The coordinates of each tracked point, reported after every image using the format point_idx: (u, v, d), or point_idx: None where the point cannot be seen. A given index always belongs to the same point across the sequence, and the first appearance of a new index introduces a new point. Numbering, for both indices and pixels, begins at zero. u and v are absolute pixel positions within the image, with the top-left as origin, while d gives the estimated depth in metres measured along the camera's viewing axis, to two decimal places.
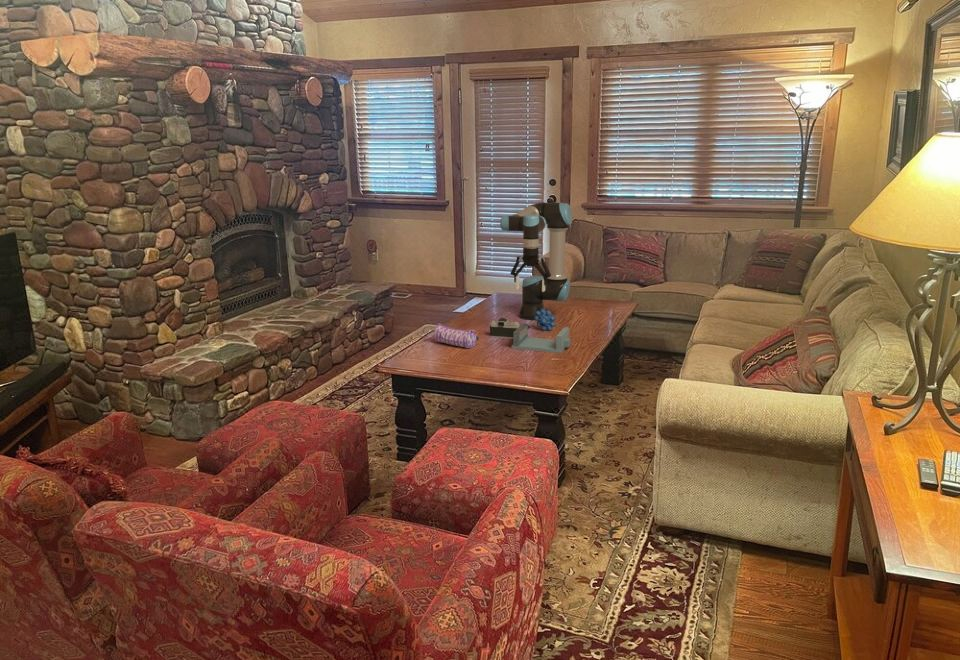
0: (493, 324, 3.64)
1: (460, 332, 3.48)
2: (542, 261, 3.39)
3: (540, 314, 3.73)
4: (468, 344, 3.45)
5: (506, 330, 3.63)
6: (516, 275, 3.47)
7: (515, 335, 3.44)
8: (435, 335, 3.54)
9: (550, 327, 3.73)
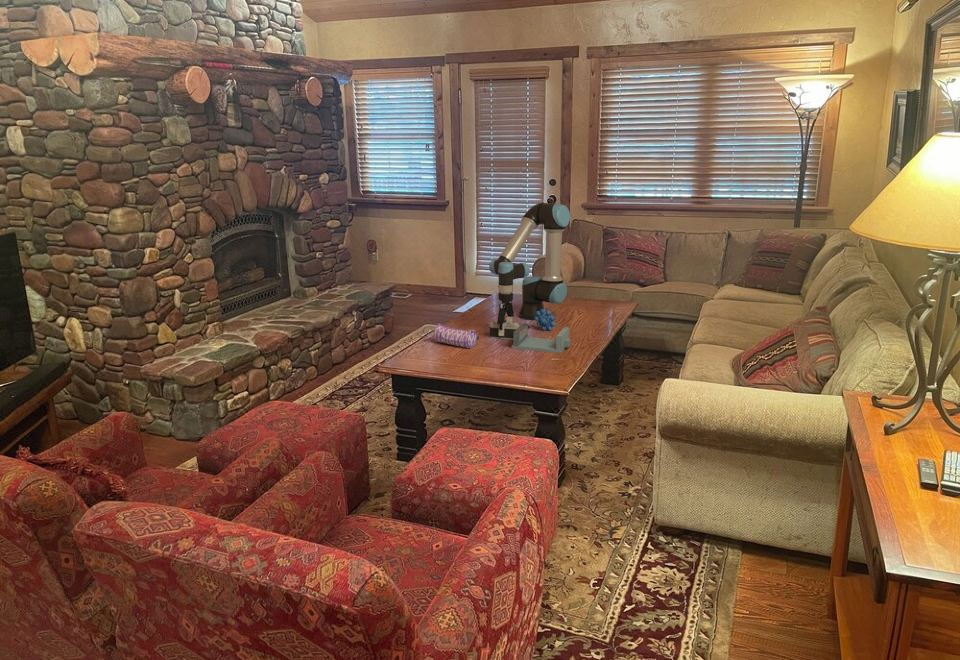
0: (493, 325, 3.62)
1: (460, 332, 3.48)
2: None
3: (540, 314, 3.73)
4: (469, 344, 3.45)
5: (506, 331, 3.61)
6: (508, 315, 3.72)
7: (515, 335, 3.44)
8: (435, 336, 3.53)
9: (550, 327, 3.73)
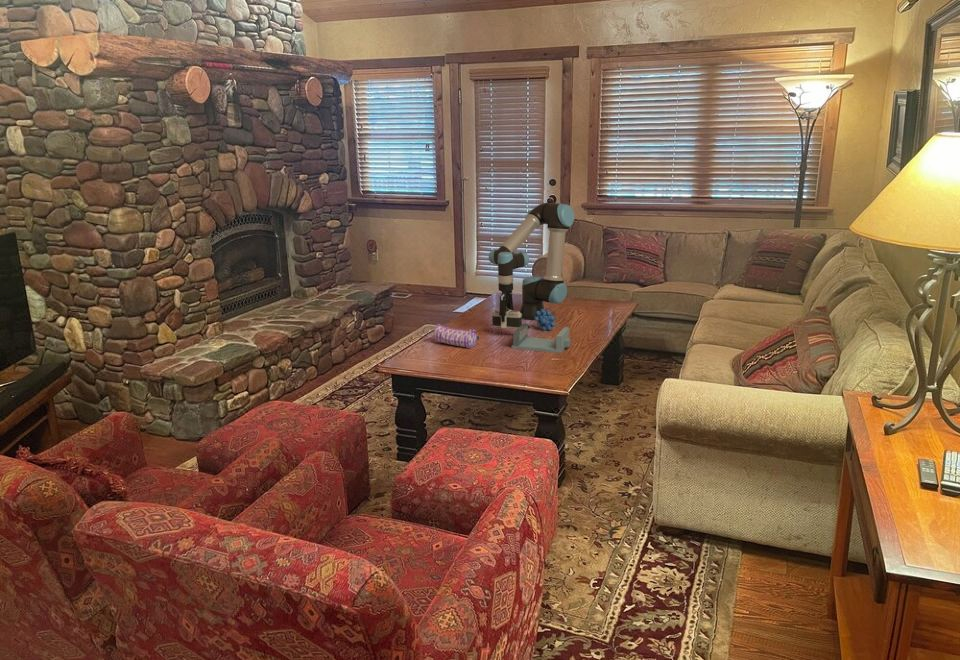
0: (495, 314, 3.63)
1: (461, 332, 3.48)
2: None
3: (540, 314, 3.73)
4: (469, 344, 3.45)
5: (508, 320, 3.61)
6: None
7: (515, 335, 3.44)
8: (435, 336, 3.53)
9: (550, 327, 3.73)
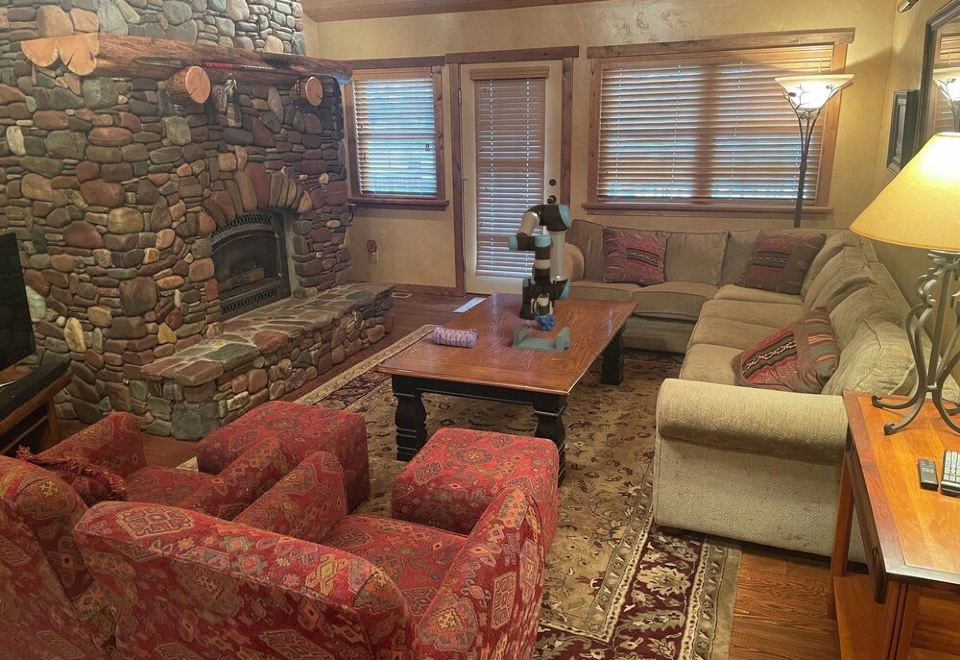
0: (546, 302, 3.37)
1: (461, 332, 3.48)
2: (553, 283, 3.37)
3: None
4: (471, 343, 3.46)
5: None
6: (531, 298, 3.44)
7: (515, 335, 3.44)
8: (434, 337, 3.51)
9: (550, 327, 3.73)
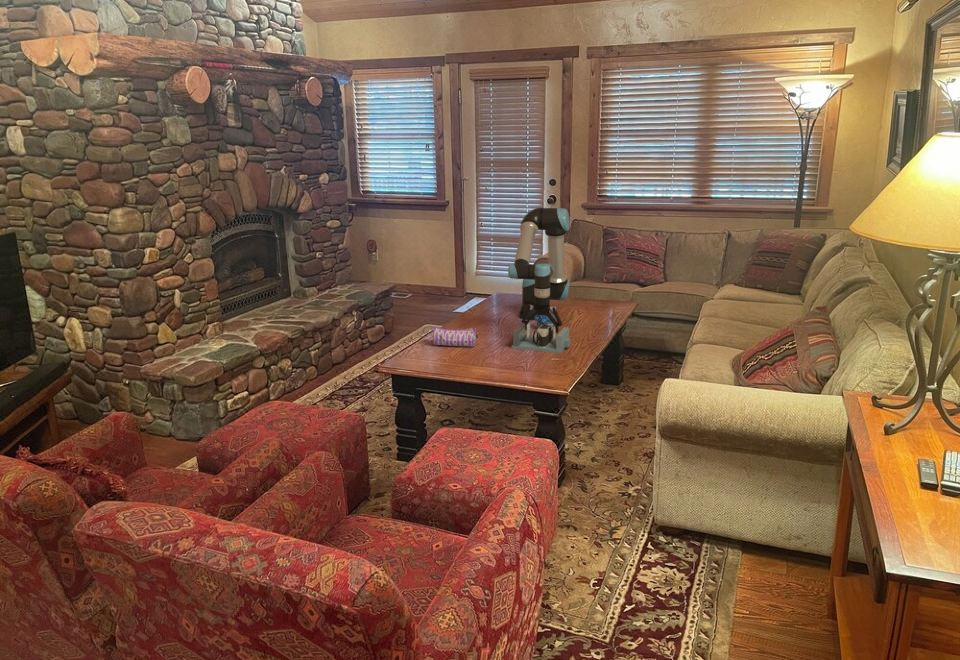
0: (546, 333, 3.41)
1: (462, 332, 3.48)
2: (554, 310, 3.41)
3: None
4: (473, 342, 3.47)
5: (550, 334, 3.48)
6: (527, 323, 3.48)
7: (515, 335, 3.44)
8: (434, 339, 3.48)
9: None
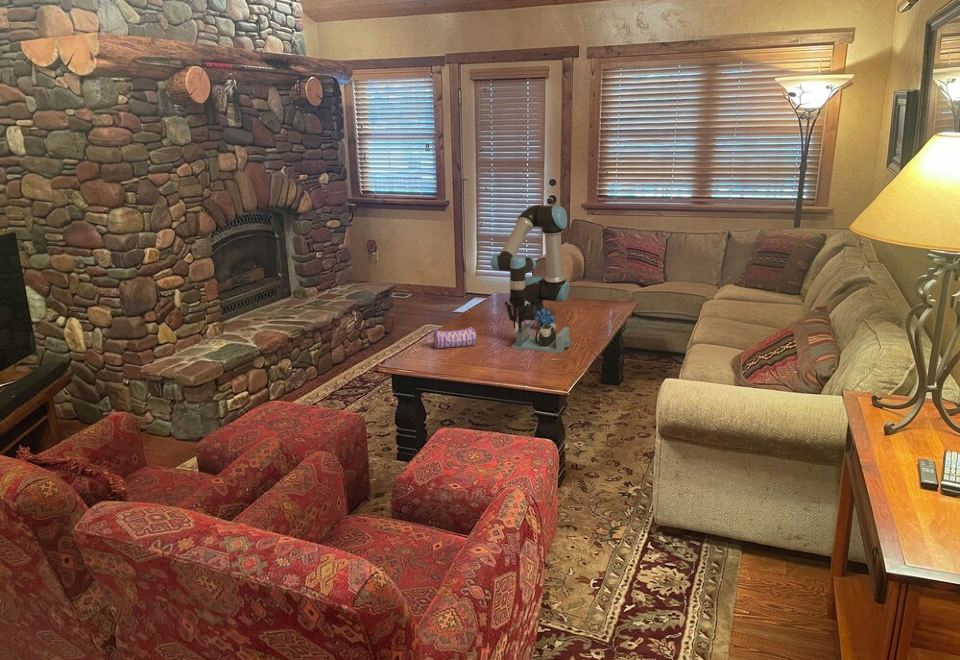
0: (548, 333, 3.41)
1: (463, 332, 3.49)
2: (527, 306, 3.45)
3: (540, 314, 3.73)
4: None
5: (552, 335, 3.48)
6: (515, 320, 3.50)
7: (517, 335, 3.43)
8: (438, 342, 3.43)
9: None
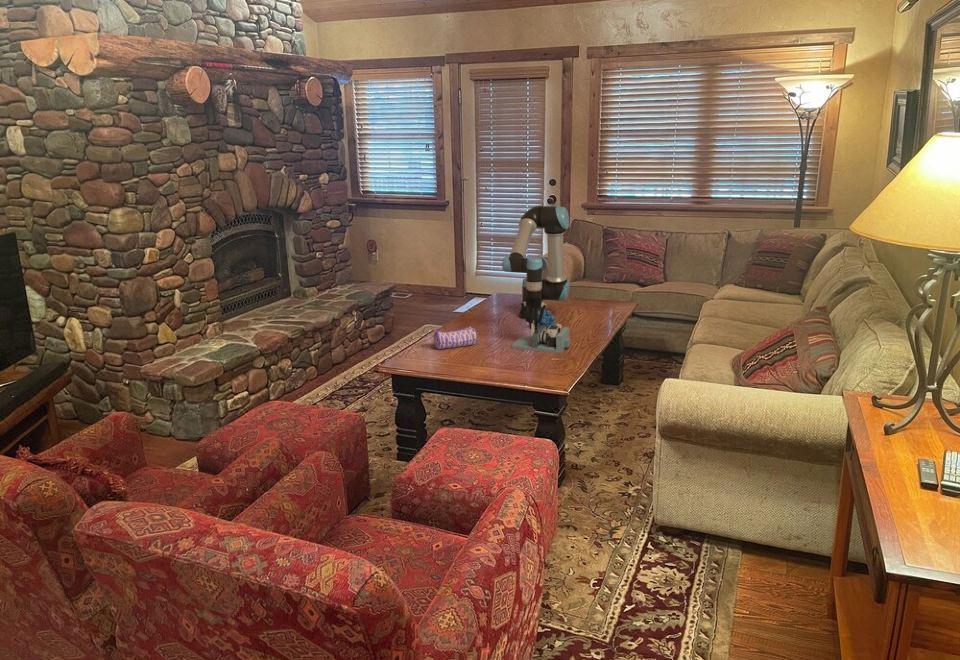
0: (555, 333, 3.40)
1: (463, 331, 3.49)
2: (543, 307, 3.42)
3: None
4: None
5: None
6: (531, 321, 3.47)
7: (534, 336, 3.41)
8: (440, 343, 3.42)
9: None
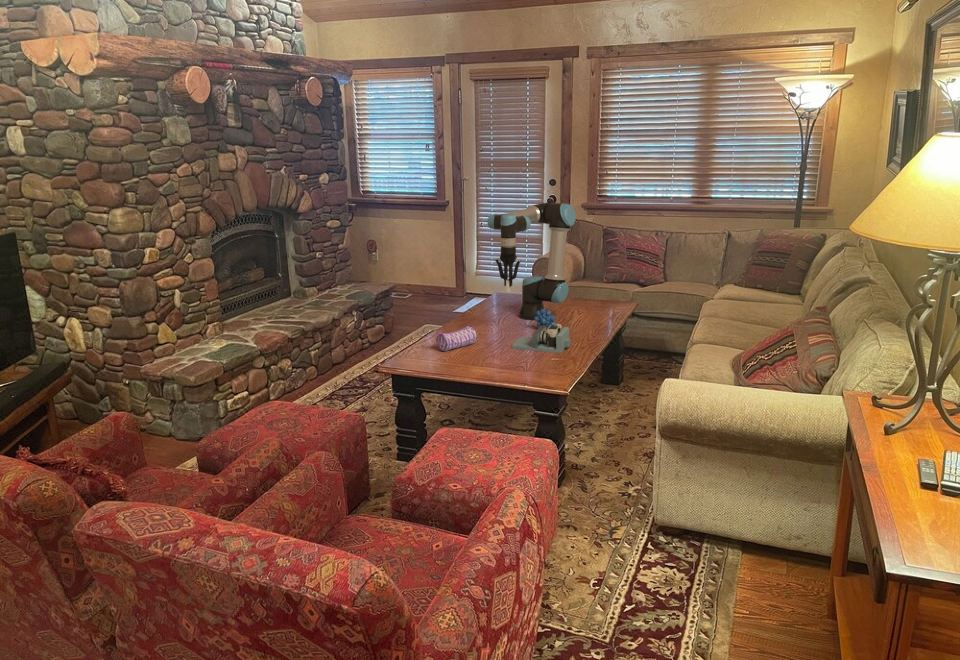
0: (555, 333, 3.40)
1: (464, 331, 3.50)
2: (517, 263, 3.48)
3: (540, 314, 3.73)
4: None
5: None
6: (506, 278, 3.53)
7: (534, 336, 3.41)
8: (448, 344, 3.39)
9: None
